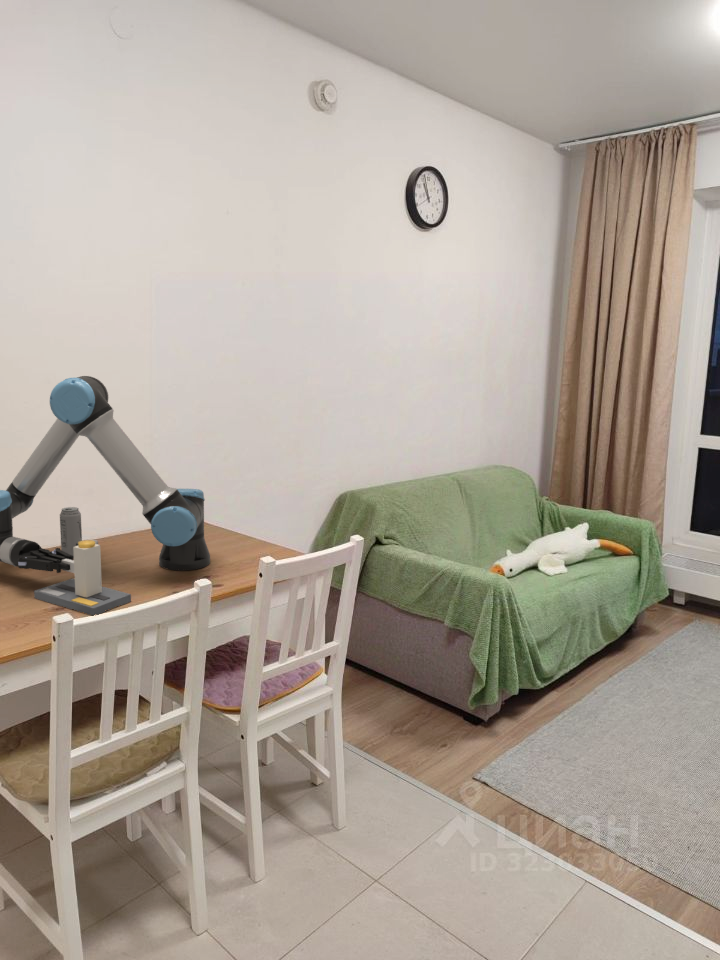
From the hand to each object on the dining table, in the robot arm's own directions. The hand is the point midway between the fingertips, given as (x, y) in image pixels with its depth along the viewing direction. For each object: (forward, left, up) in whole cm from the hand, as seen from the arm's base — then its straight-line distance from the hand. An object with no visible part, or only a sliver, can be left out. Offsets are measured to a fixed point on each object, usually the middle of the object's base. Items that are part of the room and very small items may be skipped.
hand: (81, 568), depth 185 cm
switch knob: (-2, +1, -6) cm, 7 cm away
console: (0, 0, -8) cm, 9 cm away
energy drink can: (+13, -38, -9) cm, 41 cm away
